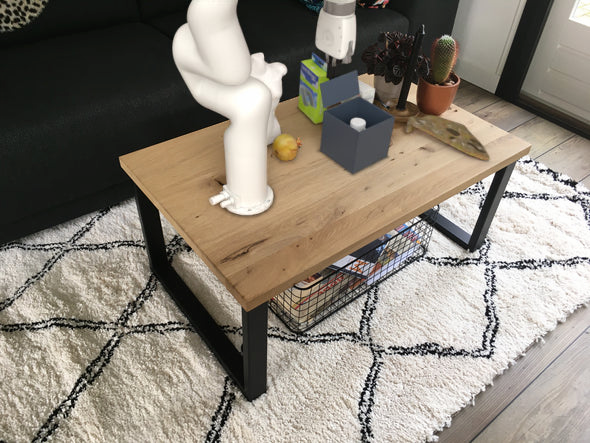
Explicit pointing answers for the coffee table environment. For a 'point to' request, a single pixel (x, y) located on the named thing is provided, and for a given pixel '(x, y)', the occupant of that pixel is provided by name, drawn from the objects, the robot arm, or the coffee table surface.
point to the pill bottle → (358, 124)
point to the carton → (356, 134)
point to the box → (312, 88)
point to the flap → (339, 89)
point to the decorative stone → (449, 134)
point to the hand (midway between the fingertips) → (332, 77)
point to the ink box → (364, 92)
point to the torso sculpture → (272, 79)
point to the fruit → (285, 147)
